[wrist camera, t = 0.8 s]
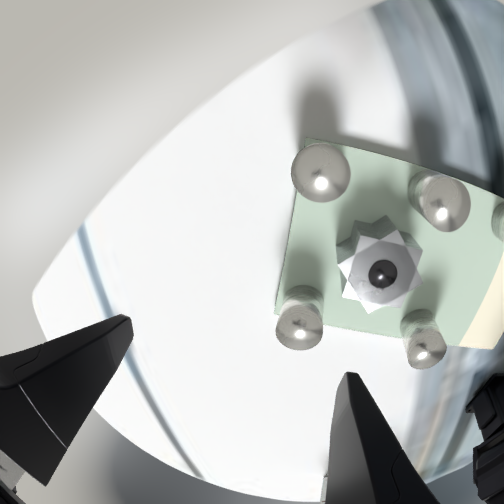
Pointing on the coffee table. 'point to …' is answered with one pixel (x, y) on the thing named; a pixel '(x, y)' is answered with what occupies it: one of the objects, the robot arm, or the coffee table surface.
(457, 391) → the coffee table surface
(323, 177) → the spacer field
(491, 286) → the mat
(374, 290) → the gear
